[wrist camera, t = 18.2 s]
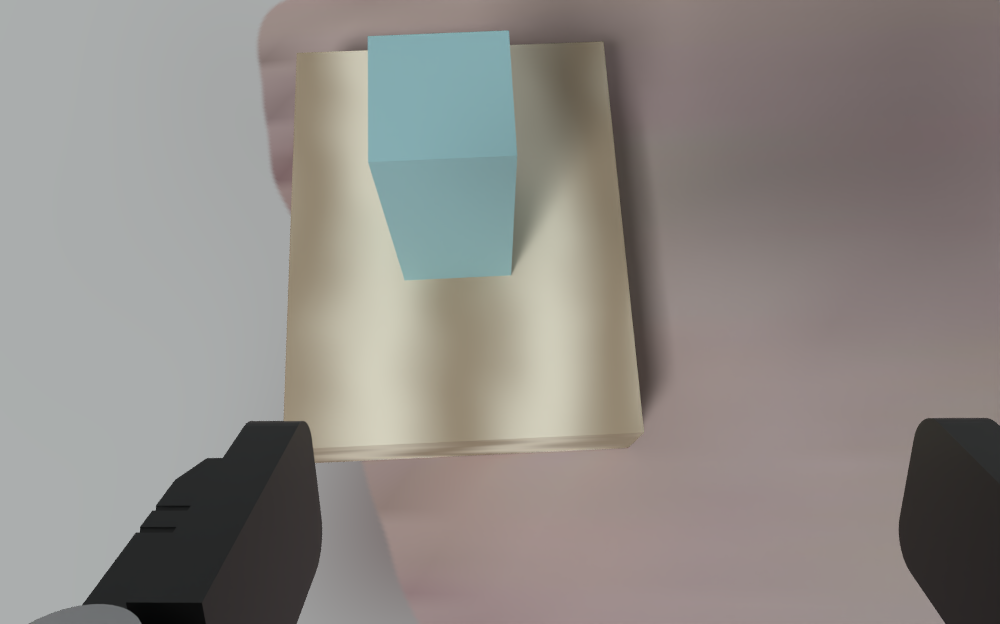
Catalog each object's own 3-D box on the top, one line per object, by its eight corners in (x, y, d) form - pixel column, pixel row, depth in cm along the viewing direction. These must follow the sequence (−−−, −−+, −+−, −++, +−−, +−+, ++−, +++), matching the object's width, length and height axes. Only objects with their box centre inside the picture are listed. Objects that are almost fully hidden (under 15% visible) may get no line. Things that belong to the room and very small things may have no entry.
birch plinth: (593, 91, 41) (603, 41, 37) (628, 447, 35) (643, 432, 31) (315, 102, 40) (296, 53, 37) (305, 463, 35) (282, 449, 31)
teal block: (505, 179, 35) (508, 30, 25) (511, 275, 33) (516, 155, 24) (402, 184, 35) (367, 36, 25) (404, 280, 33) (367, 162, 24)
